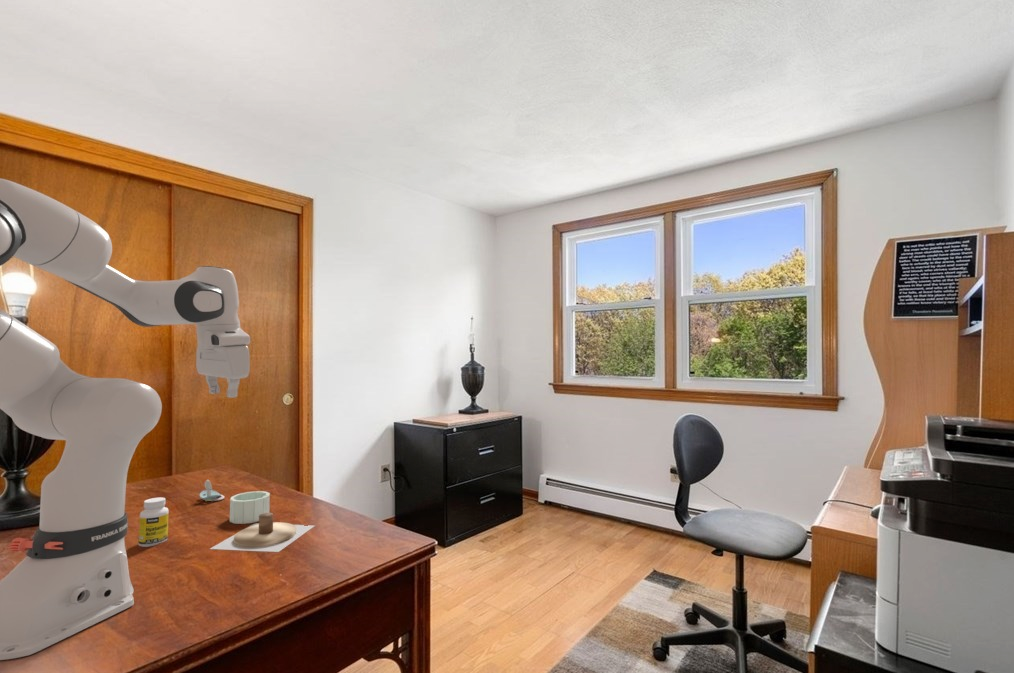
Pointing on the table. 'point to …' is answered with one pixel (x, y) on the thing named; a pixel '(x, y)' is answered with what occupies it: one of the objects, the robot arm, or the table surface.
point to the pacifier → (210, 493)
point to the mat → (230, 545)
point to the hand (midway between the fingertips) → (223, 395)
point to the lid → (264, 533)
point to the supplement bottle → (153, 522)
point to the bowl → (248, 506)
